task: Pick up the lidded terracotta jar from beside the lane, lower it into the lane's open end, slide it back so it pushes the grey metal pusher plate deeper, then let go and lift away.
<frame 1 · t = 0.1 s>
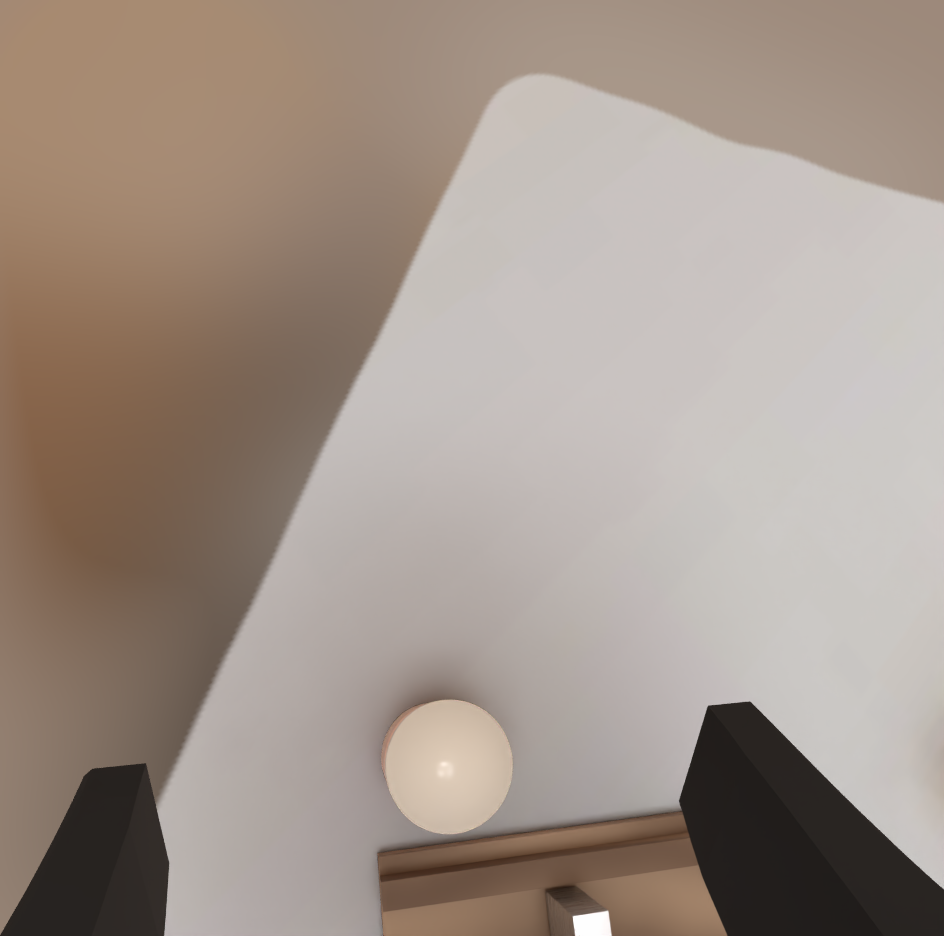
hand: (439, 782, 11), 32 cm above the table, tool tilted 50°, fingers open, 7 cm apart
jar: (432, 755, 42), on the table
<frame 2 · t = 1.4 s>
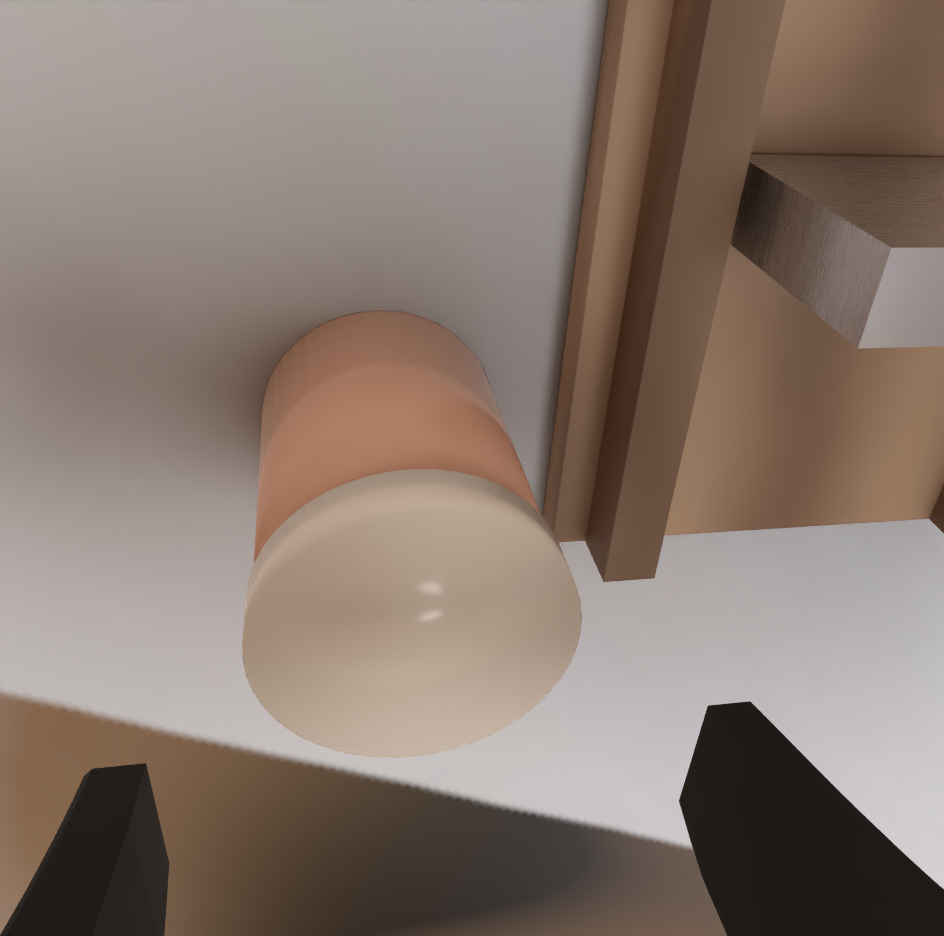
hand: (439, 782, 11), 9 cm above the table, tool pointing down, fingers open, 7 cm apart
jar: (379, 416, 19), on the table
lane: (902, 60, 17), on the table
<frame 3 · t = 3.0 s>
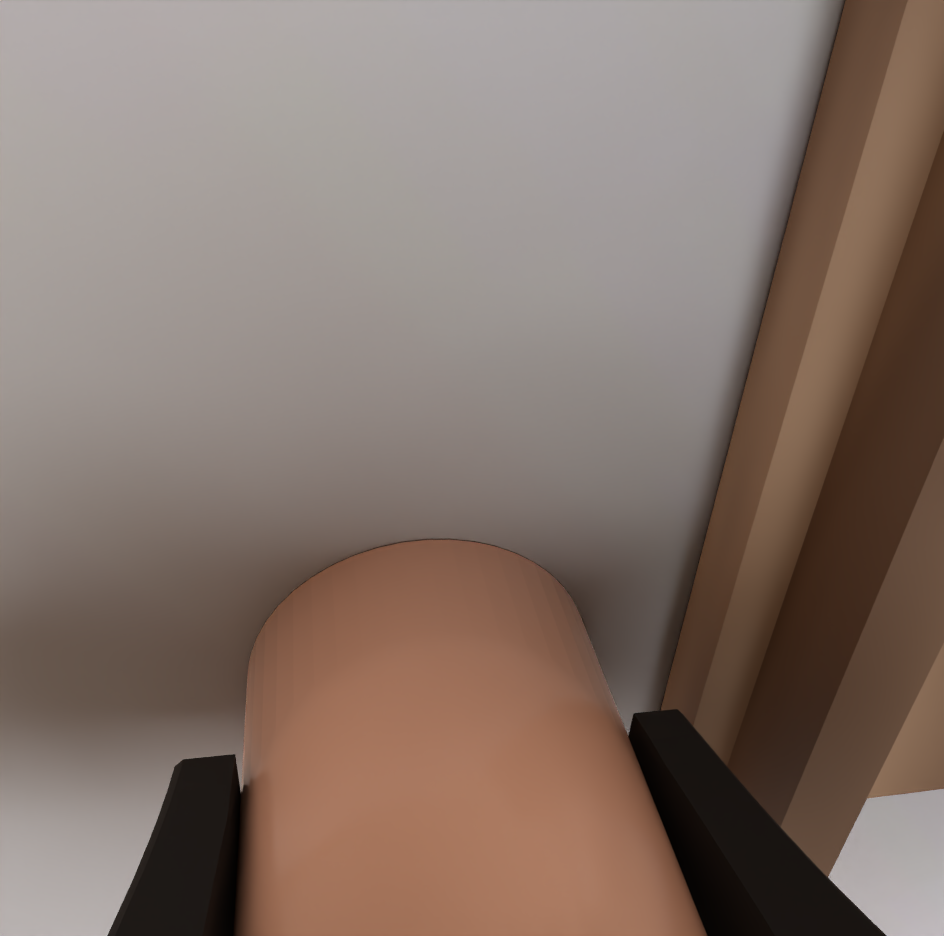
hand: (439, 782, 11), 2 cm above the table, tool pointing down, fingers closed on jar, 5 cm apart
jar: (421, 672, 13), on the table, touching gripper
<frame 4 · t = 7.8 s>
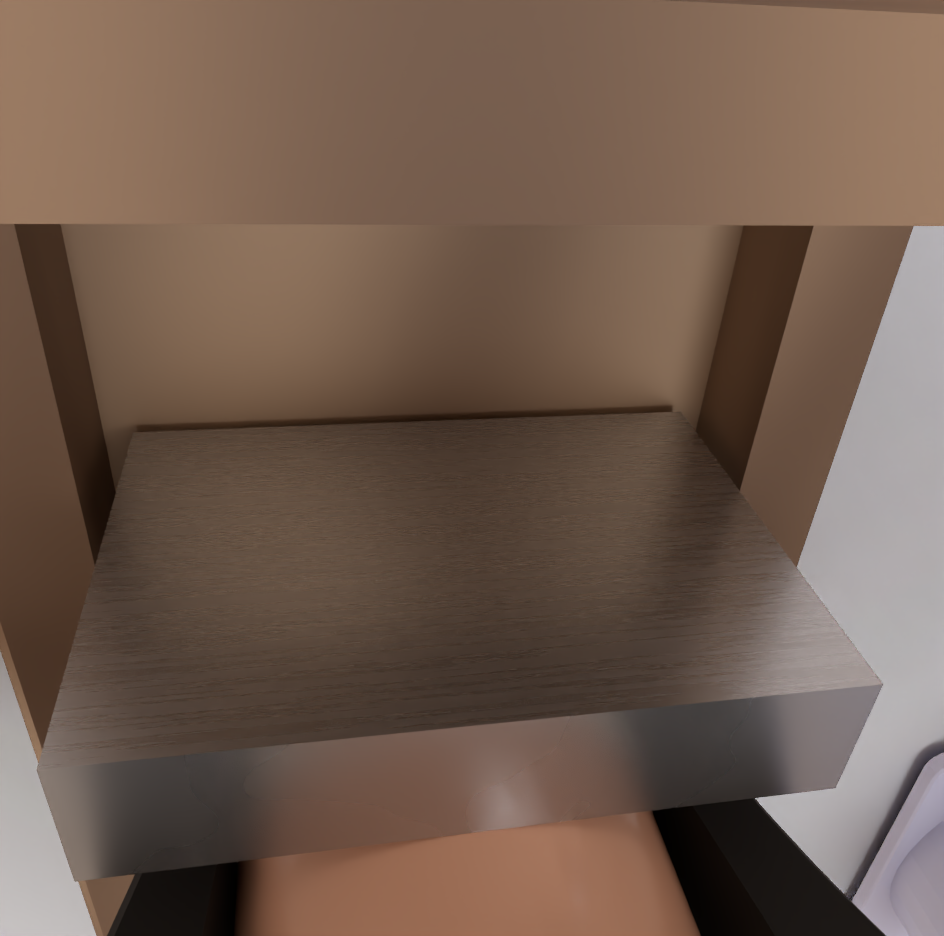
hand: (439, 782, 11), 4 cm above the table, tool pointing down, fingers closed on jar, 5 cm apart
jar: (419, 672, 13), point 2 cm above the table, touching gripper, pusher plate
lane: (407, 559, 14), on the table
pusher plate: (448, 591, 10), point 4 cm above the table, slide at 4.8 cm, touching jar
when the fingers open (4 cm above the table, at t = 9.2 s): jar stays where it is, resting on lane.
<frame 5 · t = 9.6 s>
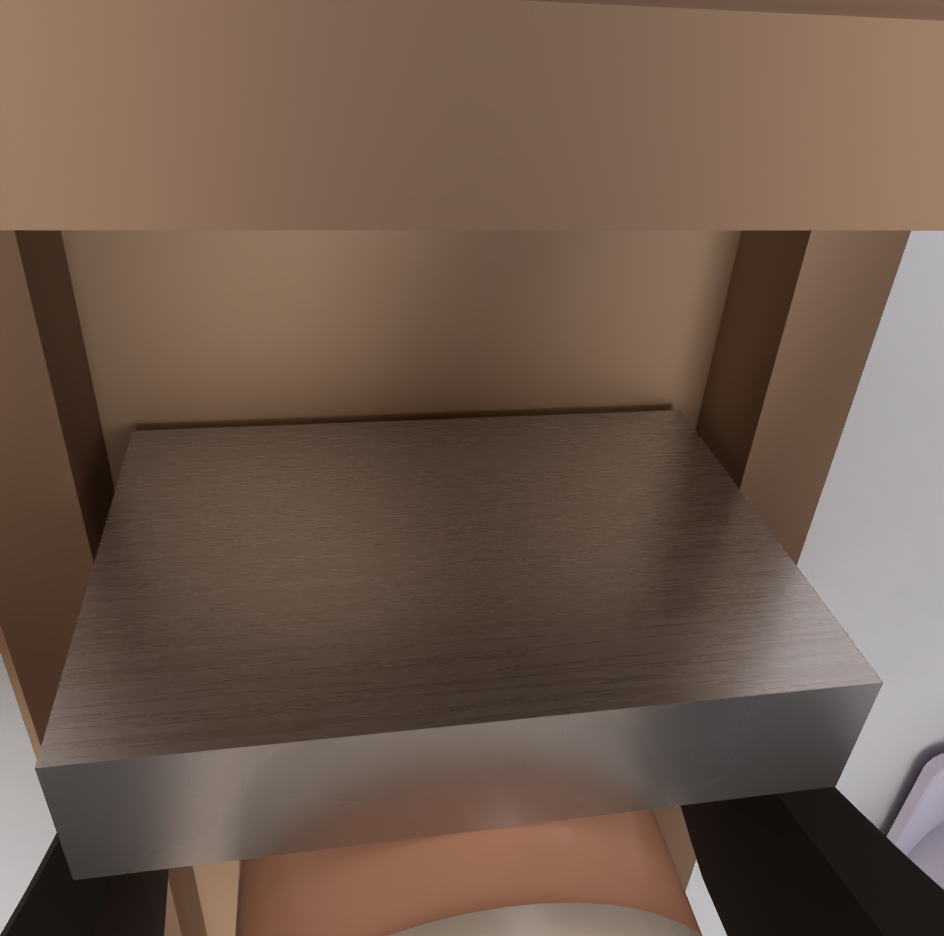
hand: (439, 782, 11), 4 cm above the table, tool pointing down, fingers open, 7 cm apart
jar: (413, 633, 14), point 1 cm above the table, touching lane
lane: (407, 561, 14), on the table
pusher plate: (447, 590, 10), point 4 cm above the table, slide at 4.9 cm
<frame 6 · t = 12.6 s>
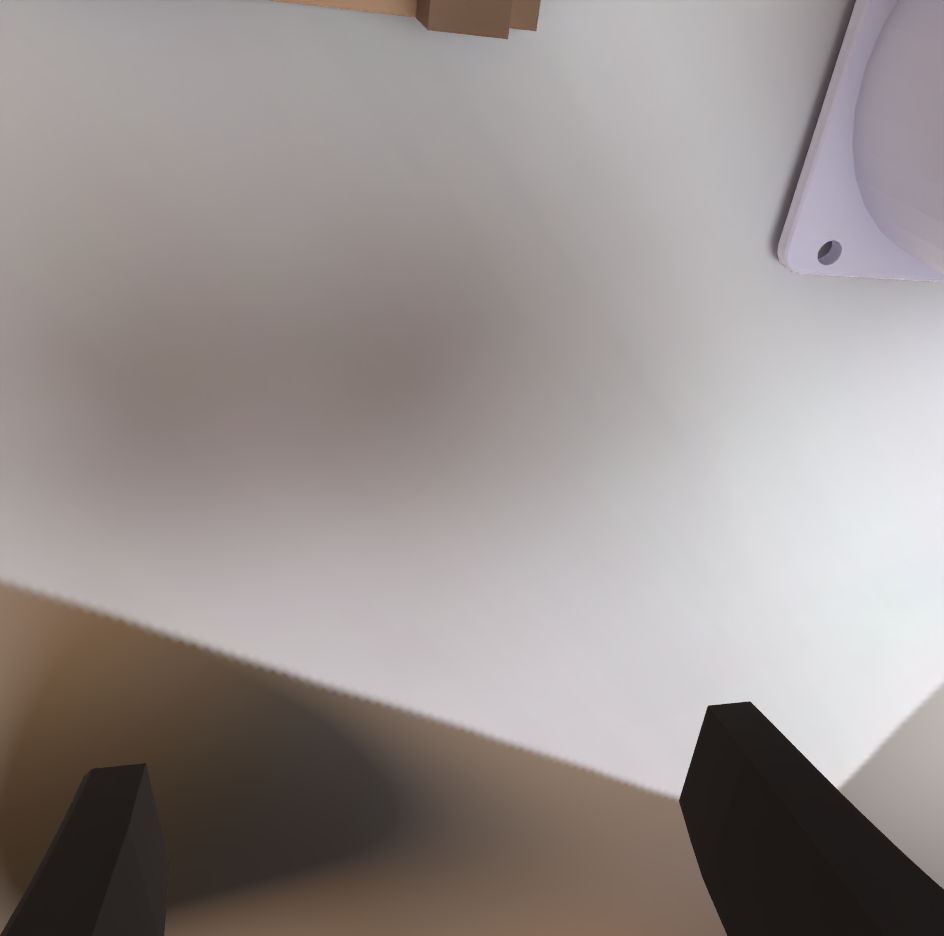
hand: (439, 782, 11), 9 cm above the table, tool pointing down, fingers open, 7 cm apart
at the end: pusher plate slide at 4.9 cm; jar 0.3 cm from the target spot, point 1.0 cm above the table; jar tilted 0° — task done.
